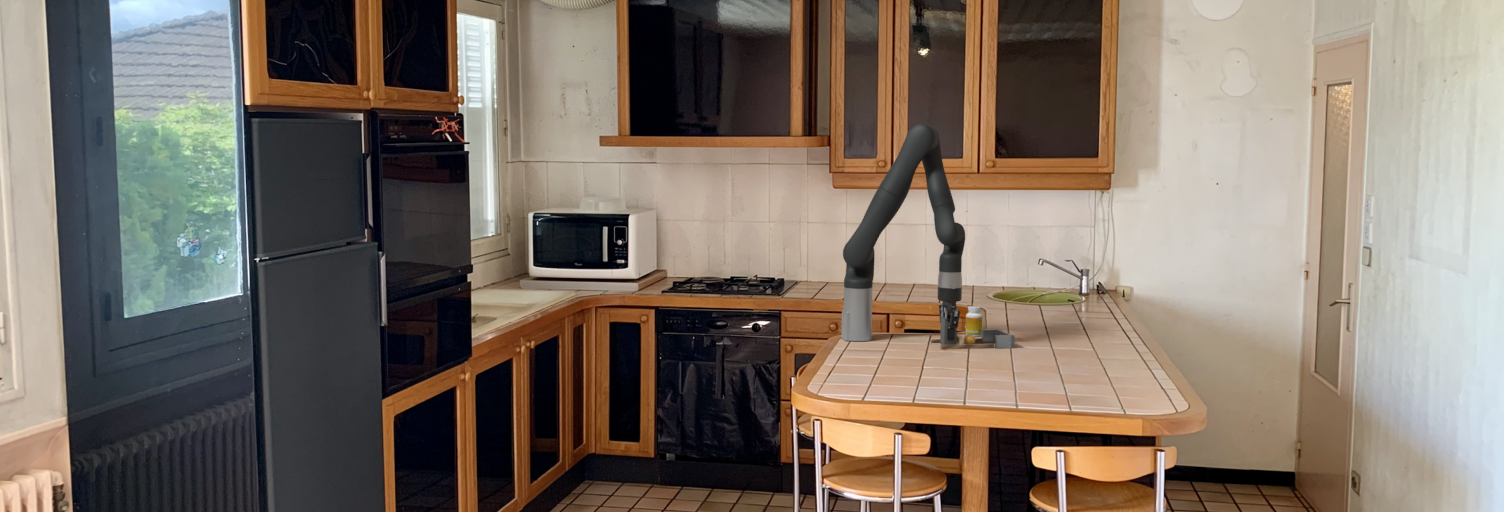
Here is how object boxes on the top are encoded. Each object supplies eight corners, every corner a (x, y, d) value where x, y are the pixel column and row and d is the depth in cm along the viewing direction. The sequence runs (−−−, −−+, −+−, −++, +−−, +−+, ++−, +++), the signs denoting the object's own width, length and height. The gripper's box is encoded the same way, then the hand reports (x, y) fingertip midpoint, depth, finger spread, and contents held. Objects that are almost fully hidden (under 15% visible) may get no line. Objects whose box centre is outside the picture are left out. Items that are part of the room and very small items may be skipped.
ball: (966, 346, 368) (966, 335, 367) (962, 344, 371) (962, 333, 371) (976, 346, 368) (977, 335, 368) (972, 344, 372) (973, 333, 371)
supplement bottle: (981, 337, 386) (982, 308, 385) (965, 336, 387) (965, 307, 386) (981, 334, 391) (982, 306, 390) (965, 334, 392) (966, 305, 391)
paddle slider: (945, 347, 365) (946, 319, 364) (938, 343, 372) (939, 316, 371) (963, 347, 366) (964, 319, 365) (956, 343, 373) (957, 315, 372)
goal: (996, 348, 364) (996, 336, 364) (981, 341, 377) (981, 329, 377) (1014, 348, 365) (1014, 335, 365) (999, 341, 378) (999, 329, 378)
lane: (941, 349, 362) (941, 345, 362) (930, 343, 373) (930, 339, 373) (994, 348, 365) (994, 344, 365) (981, 342, 376) (981, 338, 376)
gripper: (931, 283, 373) (930, 335, 375) (945, 288, 359) (944, 343, 361) (953, 282, 374) (952, 335, 376) (968, 288, 360) (967, 342, 362)
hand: (948, 338), depth 368 cm, fingers closed on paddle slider, 4 cm apart
